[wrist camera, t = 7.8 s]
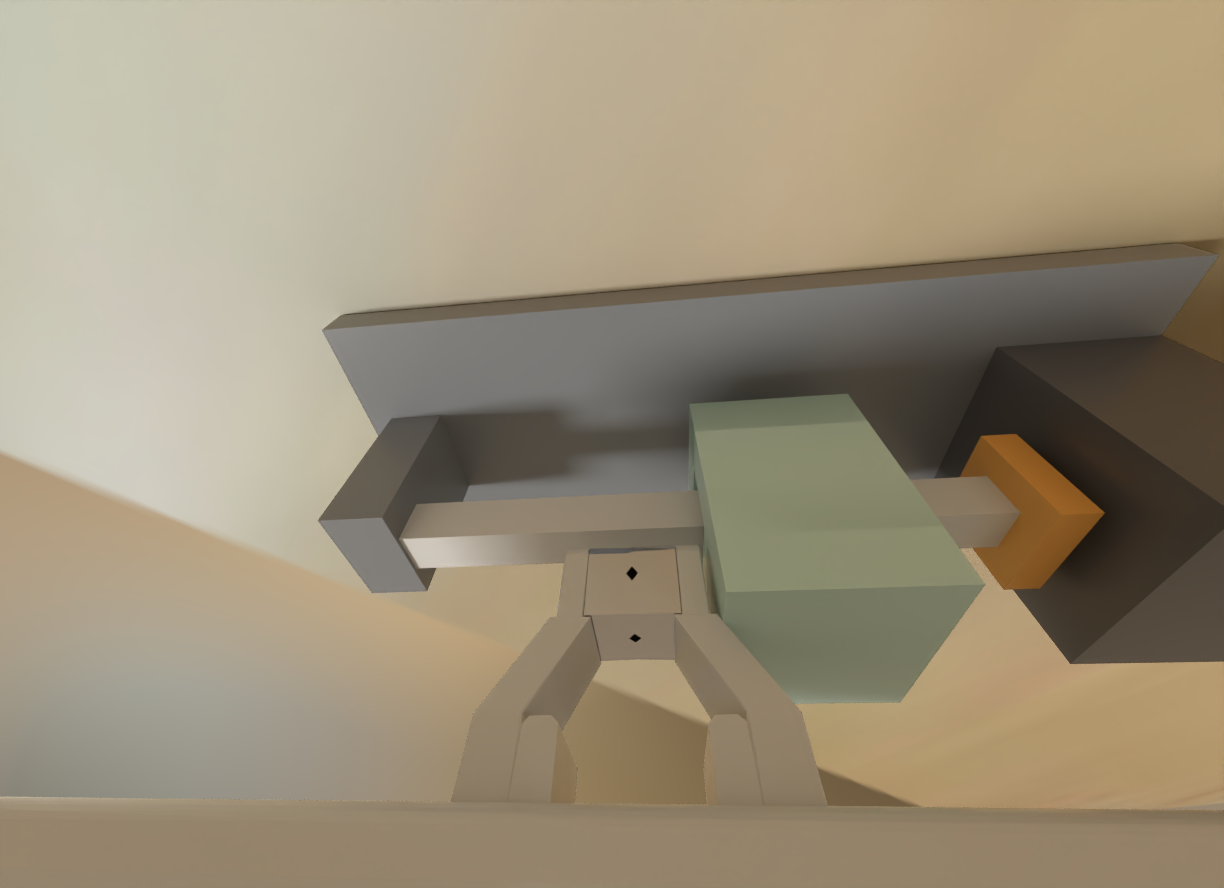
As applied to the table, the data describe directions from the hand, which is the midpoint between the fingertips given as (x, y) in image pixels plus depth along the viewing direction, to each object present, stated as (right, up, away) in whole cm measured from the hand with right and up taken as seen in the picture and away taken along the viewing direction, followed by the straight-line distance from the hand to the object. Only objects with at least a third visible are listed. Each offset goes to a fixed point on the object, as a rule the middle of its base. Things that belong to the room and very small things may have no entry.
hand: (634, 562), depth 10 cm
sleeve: (+4, +2, +3) cm, 5 cm away
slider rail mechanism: (+3, +4, +5) cm, 7 cm away
